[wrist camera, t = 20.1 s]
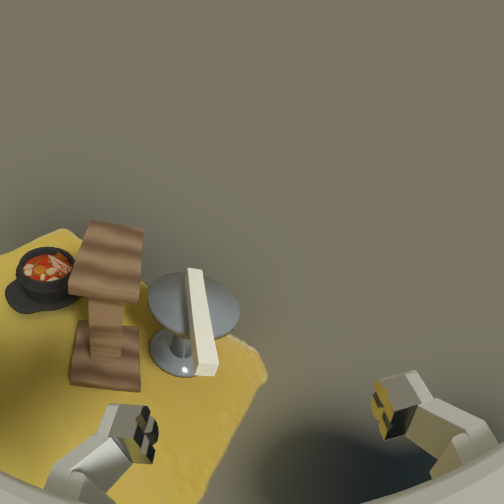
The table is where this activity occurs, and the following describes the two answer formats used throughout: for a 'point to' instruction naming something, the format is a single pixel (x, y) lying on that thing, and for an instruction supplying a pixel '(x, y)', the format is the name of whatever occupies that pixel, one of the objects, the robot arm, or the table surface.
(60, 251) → the casserole
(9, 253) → the table surface
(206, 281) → the cake stand
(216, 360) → the bar
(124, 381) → the walnut stand
